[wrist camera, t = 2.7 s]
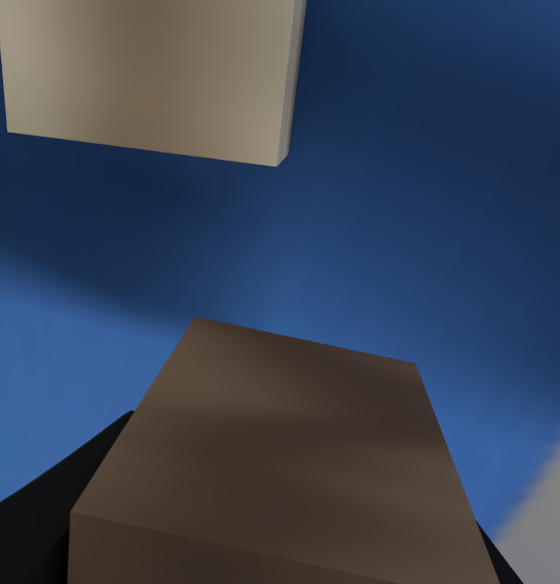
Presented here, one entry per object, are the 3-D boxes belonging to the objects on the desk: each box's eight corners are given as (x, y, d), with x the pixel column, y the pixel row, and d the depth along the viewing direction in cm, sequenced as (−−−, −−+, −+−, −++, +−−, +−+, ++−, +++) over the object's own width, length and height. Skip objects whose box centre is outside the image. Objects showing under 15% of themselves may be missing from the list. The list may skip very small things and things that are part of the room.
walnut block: (415, 363, 9) (508, 607, 5) (358, 530, 11) (386, 834, 6) (195, 316, 9) (69, 511, 5) (170, 488, 11) (58, 761, 6)
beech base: (318, -94, 12) (316, -193, 8) (288, 153, 14) (276, 166, 10) (84, -119, 12) (-23, -228, 8) (91, 128, 14) (7, 131, 10)
